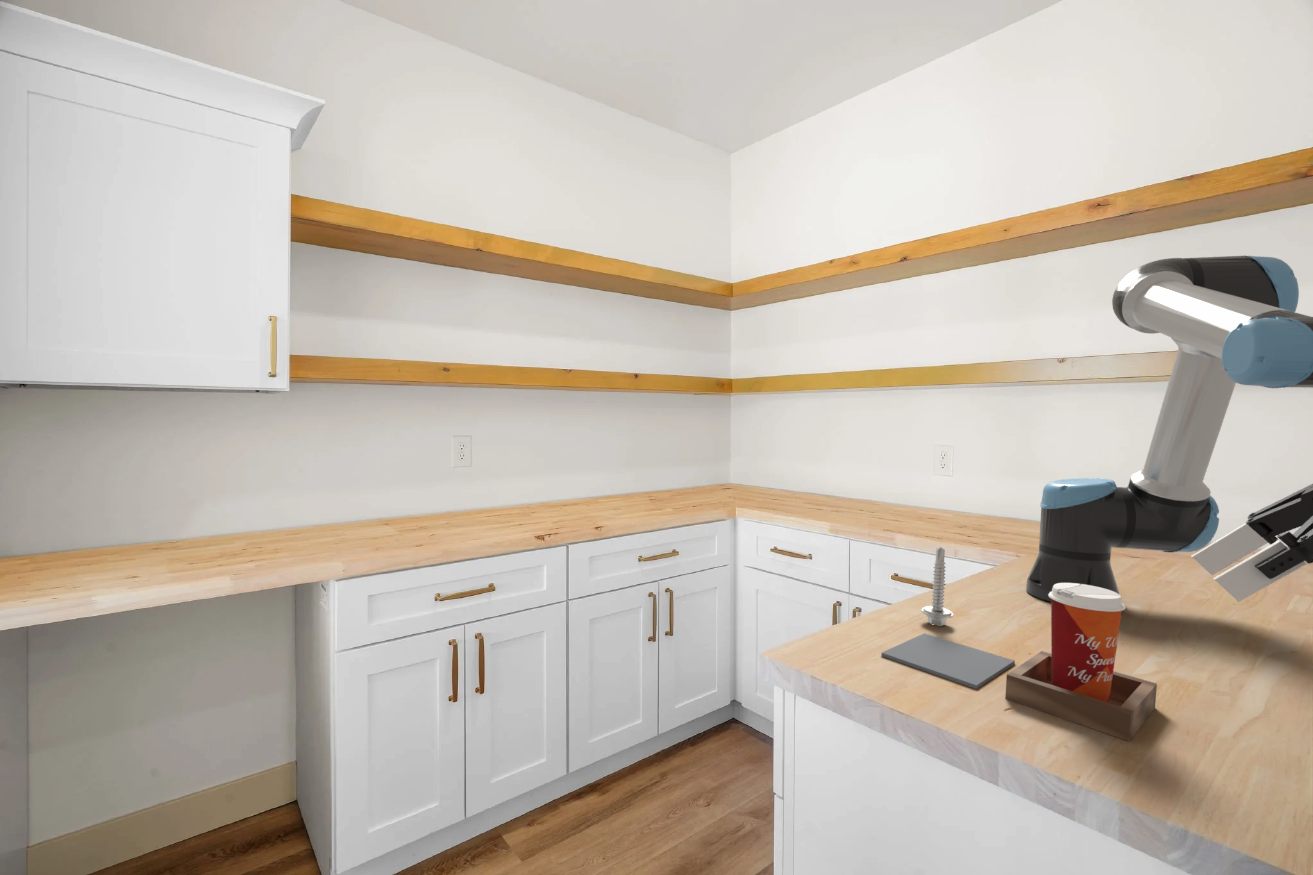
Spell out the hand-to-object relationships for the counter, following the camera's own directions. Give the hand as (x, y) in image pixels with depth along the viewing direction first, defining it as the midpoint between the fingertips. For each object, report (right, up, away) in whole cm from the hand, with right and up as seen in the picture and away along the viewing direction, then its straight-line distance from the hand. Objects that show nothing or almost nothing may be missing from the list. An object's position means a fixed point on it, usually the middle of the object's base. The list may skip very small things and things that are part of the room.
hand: (1212, 577), depth 68 cm
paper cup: (-10, -17, +7) cm, 21 cm away
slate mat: (-20, -16, +19) cm, 32 cm away
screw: (-15, -16, +34) cm, 41 cm away
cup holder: (-10, -17, +7) cm, 21 cm away
